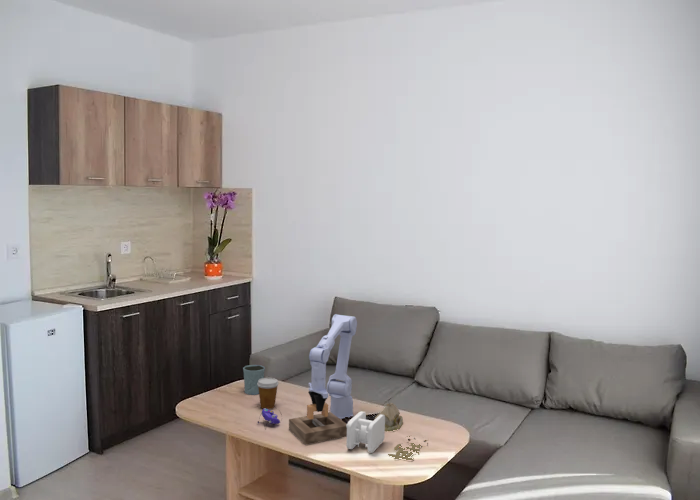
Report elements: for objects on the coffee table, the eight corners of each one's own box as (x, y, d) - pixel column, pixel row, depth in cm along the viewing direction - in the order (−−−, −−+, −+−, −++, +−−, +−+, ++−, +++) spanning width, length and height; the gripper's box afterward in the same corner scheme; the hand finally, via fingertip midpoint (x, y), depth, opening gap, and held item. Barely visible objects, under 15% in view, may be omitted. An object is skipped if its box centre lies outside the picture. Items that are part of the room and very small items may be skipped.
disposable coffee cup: (282, 405, 277) (282, 380, 276) (268, 412, 269) (269, 385, 268) (266, 401, 282) (266, 376, 281) (252, 407, 274) (252, 381, 273)
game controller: (288, 415, 256) (270, 417, 248) (281, 432, 257) (263, 434, 250) (275, 402, 262) (257, 403, 255) (268, 419, 264) (250, 420, 256)
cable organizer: (370, 456, 228) (371, 426, 226) (344, 451, 232) (345, 421, 231) (384, 441, 241) (385, 413, 240) (360, 436, 245) (361, 408, 244)
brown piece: (330, 422, 259) (330, 411, 259) (348, 436, 245) (348, 425, 245) (288, 429, 250) (289, 419, 250) (305, 444, 236) (305, 433, 236)
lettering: (409, 434, 249) (409, 432, 249) (433, 439, 245) (433, 437, 245) (385, 458, 227) (385, 456, 227) (410, 464, 223) (410, 462, 223)
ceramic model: (393, 434, 249) (394, 410, 248) (368, 428, 254) (369, 405, 253) (406, 423, 261) (407, 400, 260) (383, 417, 266) (383, 395, 265)
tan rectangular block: (324, 413, 251) (325, 402, 250) (327, 416, 248) (328, 404, 248) (306, 416, 247) (307, 404, 247) (309, 419, 244) (310, 407, 244)
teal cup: (240, 394, 290) (240, 369, 289) (247, 387, 300) (247, 363, 299) (260, 396, 288) (261, 371, 287) (267, 389, 298) (267, 365, 297)
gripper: (302, 373, 250) (301, 405, 252) (317, 383, 238) (316, 417, 239) (317, 371, 254) (317, 402, 255) (333, 381, 241) (332, 414, 242)
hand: (317, 409), depth 247 cm, fingers closed on tan rectangular block, 3 cm apart
